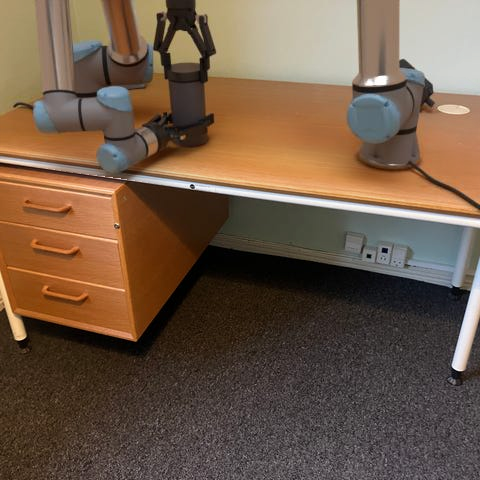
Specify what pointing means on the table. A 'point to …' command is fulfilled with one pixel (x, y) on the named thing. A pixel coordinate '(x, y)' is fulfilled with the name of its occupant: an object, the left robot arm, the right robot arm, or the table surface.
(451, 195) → the table surface
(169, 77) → the lid
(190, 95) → the jar
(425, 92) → the tool
